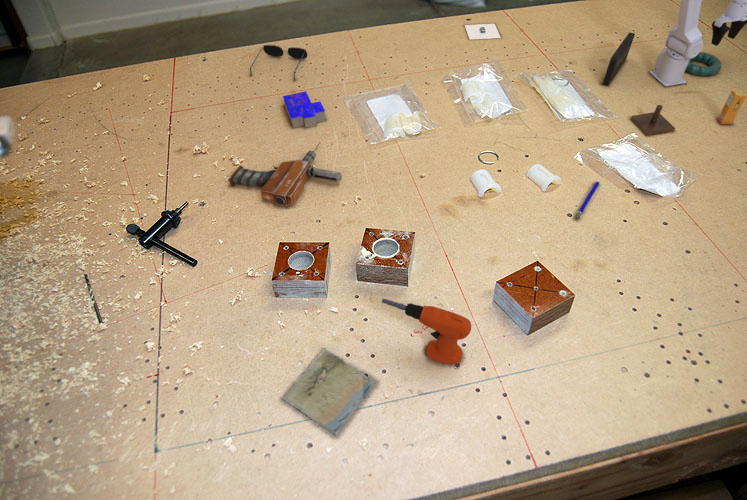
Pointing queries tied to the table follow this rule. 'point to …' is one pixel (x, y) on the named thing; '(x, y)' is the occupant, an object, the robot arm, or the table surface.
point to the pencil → (587, 200)
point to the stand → (652, 122)
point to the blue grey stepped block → (303, 110)
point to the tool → (283, 179)
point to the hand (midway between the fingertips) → (722, 41)
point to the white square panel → (482, 31)
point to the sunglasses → (278, 52)
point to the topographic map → (329, 391)
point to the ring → (702, 70)
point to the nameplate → (618, 58)
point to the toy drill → (439, 330)
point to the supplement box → (732, 106)
